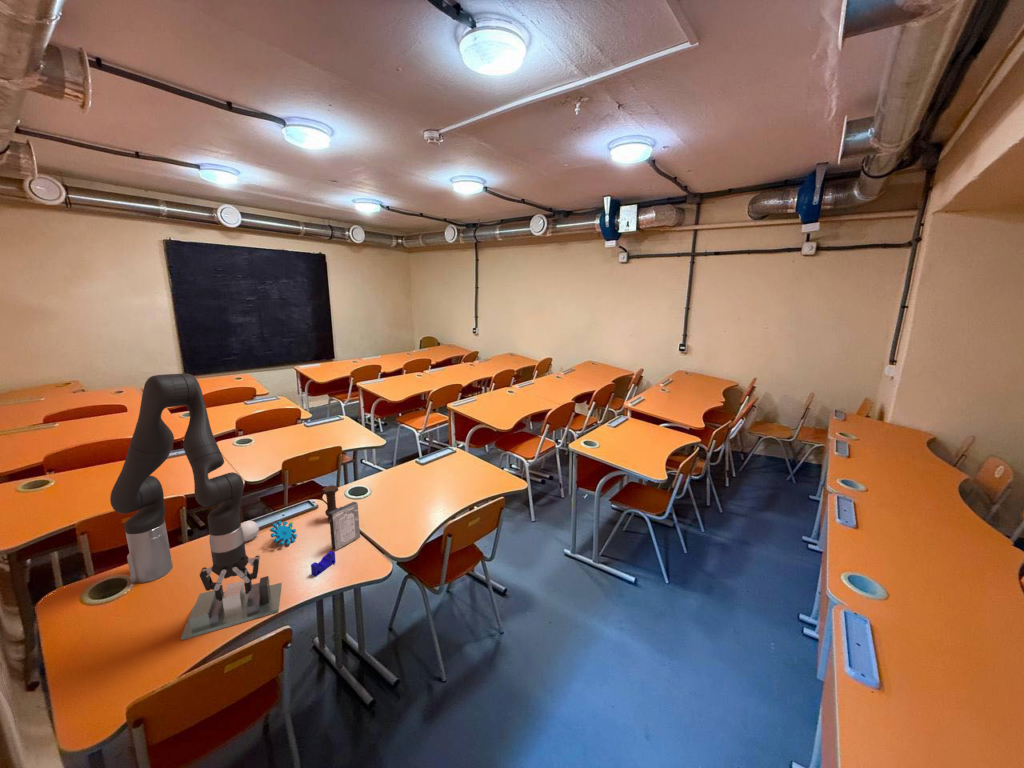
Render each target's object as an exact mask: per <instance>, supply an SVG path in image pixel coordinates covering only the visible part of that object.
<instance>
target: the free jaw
mask: <svg viewBox="0 0 1024 768" xmlns="http://www.w3.org/2000/svg"><path fill="white" fill-rule="evenodd" d="M269 578H270V577H269V576H264V577H260V579H259V582H257V583H254V584H253V583H252V588H251V591H250V593H249V597H248V602H247V606H246V611H247V615H250V614H254V613H257V612H260V607H261V604H265V603H268V602H269V599H270V579H269Z"/></svg>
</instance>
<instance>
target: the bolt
mask: <svg viewBox="0 0 1024 768" xmlns="http://www.w3.org/2000/svg"><path fill="white" fill-rule="evenodd" d="M338 491H339V487H338V486H337V485H333V484H331V485H328V486H325V487H323V488H322V494H323V495H325V497H326V505H327V507H326V509H325V511H324V512H325V515H326V516H327V517H328V518H327V519H328V522H330V521H329V512H331V511H333V510H335V509H338V508H339V507H337V504H336V502H337V501H336V493H337V492H338Z"/></svg>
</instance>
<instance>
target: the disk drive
mask: <svg viewBox="0 0 1024 768" xmlns="http://www.w3.org/2000/svg"><path fill="white" fill-rule="evenodd" d="M337 508H338V509H335V510H333V511H331V512H329V521H328V522H329V528H330V541H331V542H330V543H331V549H332V550H334V551H337V550H339V549H341V548H342V547H344V546H347V545H349V544H350V543H352V542H354V541H355V540H357V539H359V538H360V537H361V532H360V531H361V530H360V518H359V517H360V515H359V504H358V502H356V501H351V502H349V503H347V504H345V505H343V506H339V507H337Z"/></svg>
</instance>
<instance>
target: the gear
mask: <svg viewBox="0 0 1024 768" xmlns="http://www.w3.org/2000/svg"><path fill="white" fill-rule="evenodd" d="M287 524H288V525H287ZM293 524H294V522H293V521H291V522H289V523H288V522H287V521H286V520H285V521H281V520H279V521H277V522H274V523H273V524H272V525H271V526H272V527H271V528H270V529H269V532H271V533H270V538H274V539H273V542H274V543H278V542H279V541H280V542H279V545H280V546H283V545H284V544H285V545H286V546H289V545H290V544H292V543H294V542H295V541H296V538H297V537H298V534H297V533H296V532H297V530H296V528H293V527H294V526H293ZM275 537H276V538H275Z"/></svg>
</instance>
